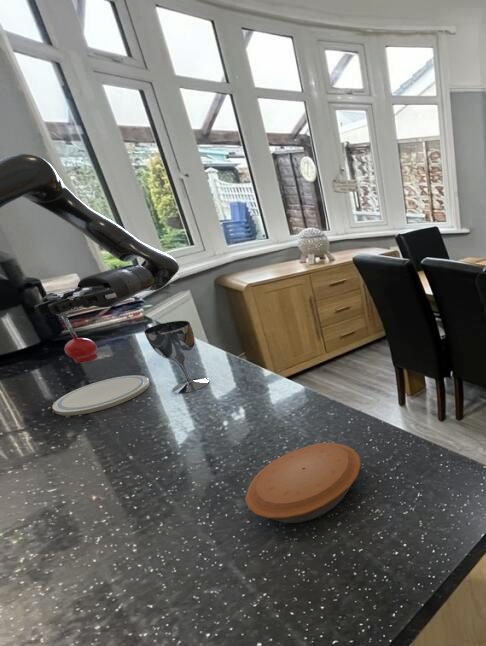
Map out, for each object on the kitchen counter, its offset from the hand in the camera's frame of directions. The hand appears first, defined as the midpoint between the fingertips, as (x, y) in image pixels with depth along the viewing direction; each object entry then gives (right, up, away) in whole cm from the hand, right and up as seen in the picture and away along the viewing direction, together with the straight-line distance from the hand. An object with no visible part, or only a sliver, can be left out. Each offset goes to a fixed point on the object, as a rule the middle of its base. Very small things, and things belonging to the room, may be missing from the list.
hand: (45, 310), depth 79 cm
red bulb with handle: (0, -10, +8) cm, 13 cm away
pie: (+63, -30, -19) cm, 72 cm away
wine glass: (+18, -17, +15) cm, 28 cm away
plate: (0, -19, +11) cm, 22 cm away
